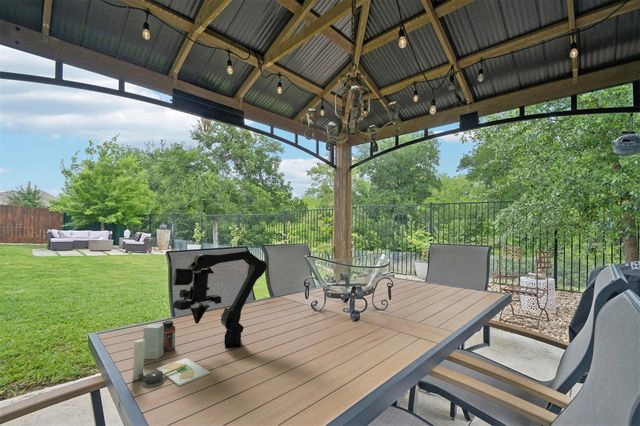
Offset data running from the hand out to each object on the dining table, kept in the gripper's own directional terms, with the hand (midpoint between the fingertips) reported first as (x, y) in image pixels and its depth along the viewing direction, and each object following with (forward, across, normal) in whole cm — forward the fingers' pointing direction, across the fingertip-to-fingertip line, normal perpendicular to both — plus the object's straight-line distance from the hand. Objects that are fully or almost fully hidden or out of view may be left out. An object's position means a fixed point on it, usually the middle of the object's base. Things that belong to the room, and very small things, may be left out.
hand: (196, 323), depth 121 cm
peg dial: (+12, +18, +7) cm, 23 cm away
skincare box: (+13, +11, -10) cm, 20 cm away
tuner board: (+13, +15, +10) cm, 22 cm away
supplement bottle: (+13, +4, -13) cm, 19 cm away
